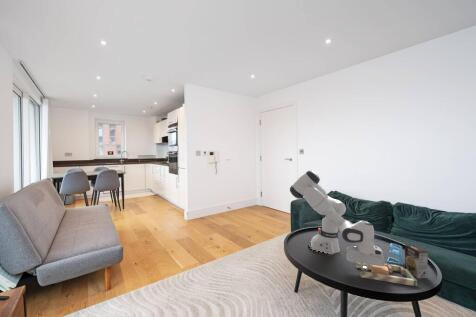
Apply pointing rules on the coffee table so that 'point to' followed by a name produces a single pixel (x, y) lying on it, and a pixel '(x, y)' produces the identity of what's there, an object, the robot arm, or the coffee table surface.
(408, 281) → the birch trap lane
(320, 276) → the coffee table surface
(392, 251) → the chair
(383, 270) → the terracotta block
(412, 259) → the coffee box
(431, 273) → the coffee table surface
